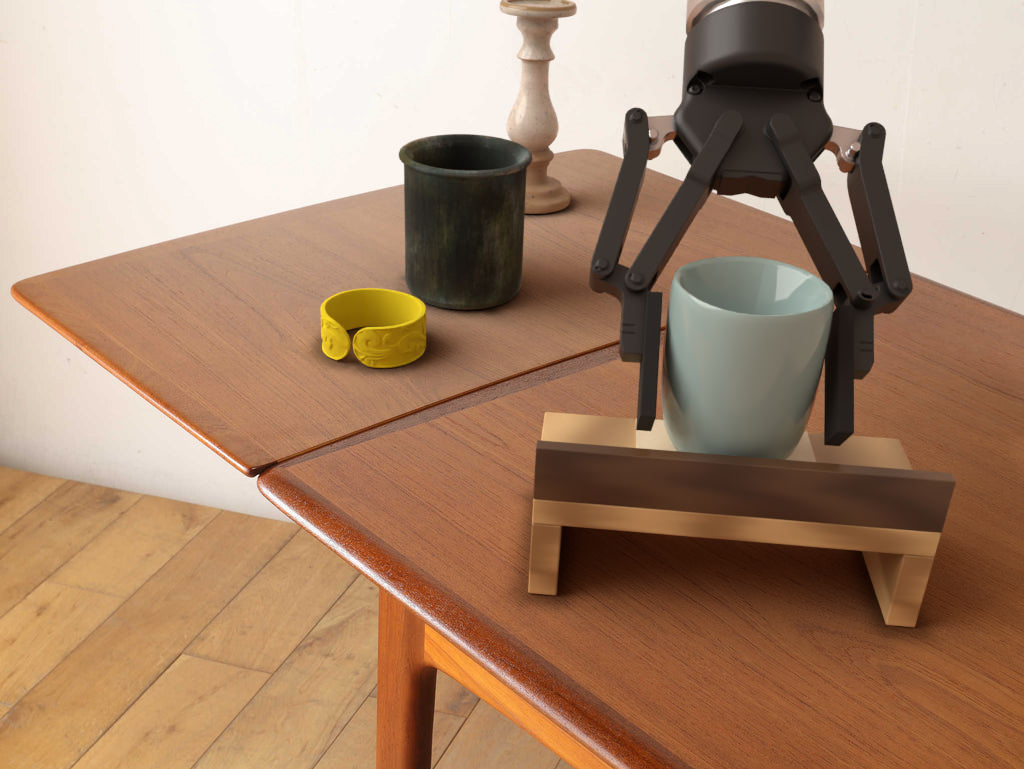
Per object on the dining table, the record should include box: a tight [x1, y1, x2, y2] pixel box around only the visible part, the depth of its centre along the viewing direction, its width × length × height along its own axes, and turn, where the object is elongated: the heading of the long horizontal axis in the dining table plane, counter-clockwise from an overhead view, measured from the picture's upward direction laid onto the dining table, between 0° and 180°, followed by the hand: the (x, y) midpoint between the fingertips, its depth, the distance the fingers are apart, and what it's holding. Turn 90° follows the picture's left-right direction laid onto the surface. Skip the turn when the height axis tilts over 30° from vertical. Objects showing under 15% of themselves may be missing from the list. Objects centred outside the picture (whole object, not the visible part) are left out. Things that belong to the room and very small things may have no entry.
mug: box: [398, 133, 532, 311], centre depth 90 cm, size 11×15×12 cm
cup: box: [660, 255, 835, 460], centre depth 54 cm, size 8×8×10 cm
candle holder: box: [498, 0, 578, 215], centre depth 108 cm, size 9×9×20 cm
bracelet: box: [319, 287, 427, 369], centre depth 80 cm, size 7×8×3 cm
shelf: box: [527, 411, 957, 628], centre depth 57 cm, size 20×9×9 cm, turn 85°
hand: (741, 431), depth 52 cm, fingers open, 9 cm apart
